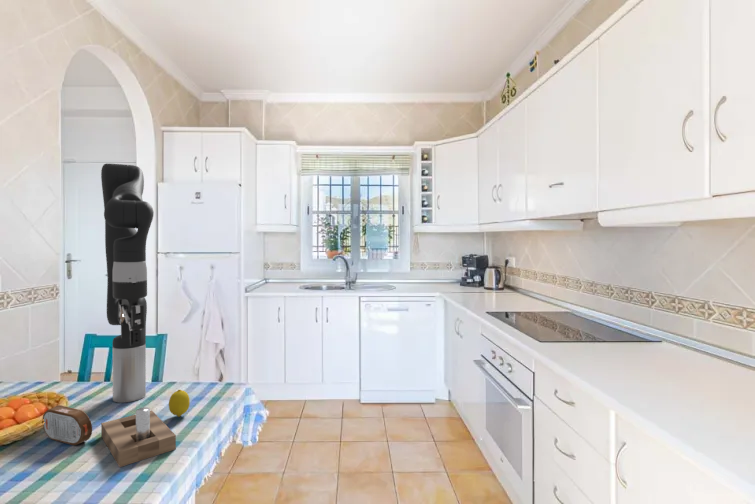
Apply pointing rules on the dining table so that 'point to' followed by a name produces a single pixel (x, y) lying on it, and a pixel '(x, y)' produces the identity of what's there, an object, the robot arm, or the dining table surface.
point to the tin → (67, 425)
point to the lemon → (179, 403)
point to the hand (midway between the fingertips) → (130, 341)
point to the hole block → (124, 443)
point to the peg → (142, 424)
